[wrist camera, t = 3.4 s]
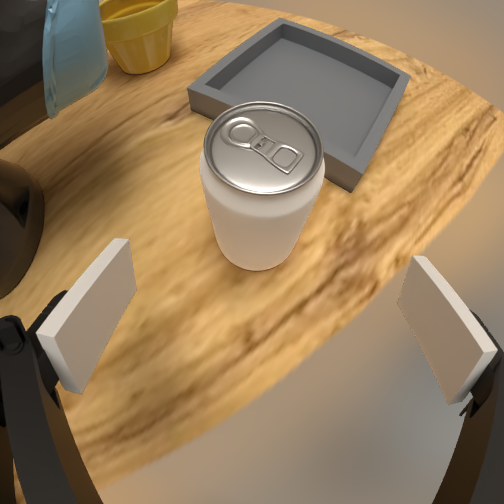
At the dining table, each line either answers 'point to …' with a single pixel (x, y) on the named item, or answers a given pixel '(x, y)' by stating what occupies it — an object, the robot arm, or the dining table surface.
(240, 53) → the tray
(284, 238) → the can
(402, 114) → the dining table surface
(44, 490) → the robot arm
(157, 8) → the plant pot
